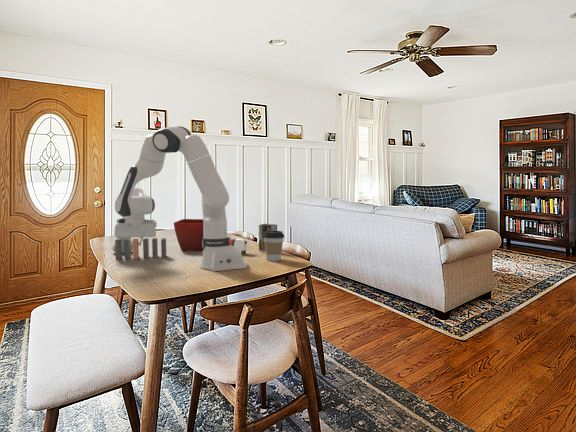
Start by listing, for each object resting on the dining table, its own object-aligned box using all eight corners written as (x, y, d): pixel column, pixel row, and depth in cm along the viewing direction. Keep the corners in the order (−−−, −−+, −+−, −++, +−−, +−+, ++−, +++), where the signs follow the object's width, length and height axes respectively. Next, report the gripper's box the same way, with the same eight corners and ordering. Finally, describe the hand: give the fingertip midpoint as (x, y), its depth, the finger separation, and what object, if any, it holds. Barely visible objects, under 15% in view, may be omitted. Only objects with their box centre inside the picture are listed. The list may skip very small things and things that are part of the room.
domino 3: (138, 256, 193) (138, 238, 192) (137, 258, 188) (136, 239, 187) (134, 256, 192) (134, 238, 191) (133, 258, 188) (132, 239, 187)
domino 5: (157, 256, 195) (157, 237, 194) (156, 258, 190) (156, 239, 189) (153, 256, 194) (153, 238, 193) (152, 258, 190) (152, 239, 189)
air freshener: (114, 255, 196) (114, 237, 195) (111, 252, 202) (110, 235, 201) (135, 252, 203) (135, 235, 202) (131, 250, 209) (131, 233, 208)
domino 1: (122, 257, 191) (121, 238, 190) (119, 259, 186) (119, 240, 185) (117, 257, 190) (117, 238, 189) (115, 259, 186) (115, 240, 185)
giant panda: (248, 253, 206) (248, 236, 205) (245, 255, 200) (245, 238, 200) (223, 252, 208) (223, 235, 207) (220, 254, 203) (220, 237, 202)
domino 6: (166, 255, 196) (166, 237, 195) (165, 257, 191) (165, 239, 190) (162, 255, 196) (162, 237, 194) (161, 257, 191) (161, 239, 190)
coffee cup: (288, 259, 190) (289, 231, 189) (273, 263, 182) (273, 234, 180) (273, 256, 198) (273, 229, 196) (258, 259, 190) (258, 231, 188)
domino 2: (131, 256, 192) (129, 238, 191) (129, 258, 187) (127, 239, 186) (127, 257, 192) (125, 238, 191) (125, 259, 187) (123, 240, 186)
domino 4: (148, 256, 194) (148, 238, 193) (147, 258, 189) (147, 239, 188) (145, 256, 194) (144, 238, 192) (143, 258, 189) (142, 239, 188)
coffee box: (277, 251, 211) (277, 224, 210) (271, 253, 206) (271, 225, 204) (264, 249, 216) (265, 223, 214) (258, 251, 211) (258, 224, 209)
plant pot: (206, 252, 208) (206, 223, 206) (173, 251, 208) (173, 222, 206) (213, 245, 227) (213, 219, 225) (183, 245, 227) (183, 218, 225)
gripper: (157, 218, 194) (157, 244, 195) (116, 218, 189) (116, 244, 190) (155, 220, 187) (155, 246, 189) (113, 220, 183) (113, 246, 184)
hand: (135, 245), depth 190 cm, fingers open, 2 cm apart
